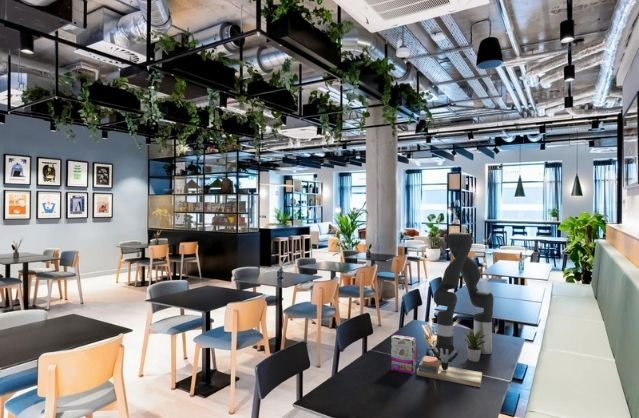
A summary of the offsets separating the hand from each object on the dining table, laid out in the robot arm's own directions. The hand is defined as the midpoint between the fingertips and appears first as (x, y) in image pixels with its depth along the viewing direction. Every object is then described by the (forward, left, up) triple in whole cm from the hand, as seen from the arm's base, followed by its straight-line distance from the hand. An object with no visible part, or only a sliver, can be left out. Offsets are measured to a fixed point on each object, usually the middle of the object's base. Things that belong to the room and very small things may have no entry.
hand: (444, 369), depth 188 cm
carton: (0, -6, -1) cm, 6 cm away
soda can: (-5, -18, -3) cm, 19 cm away
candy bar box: (+4, -19, -3) cm, 20 cm away
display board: (0, +2, -3) cm, 3 cm away
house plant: (-25, +11, -3) cm, 28 cm away
